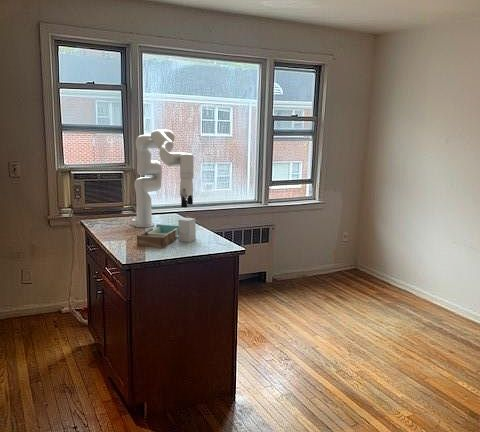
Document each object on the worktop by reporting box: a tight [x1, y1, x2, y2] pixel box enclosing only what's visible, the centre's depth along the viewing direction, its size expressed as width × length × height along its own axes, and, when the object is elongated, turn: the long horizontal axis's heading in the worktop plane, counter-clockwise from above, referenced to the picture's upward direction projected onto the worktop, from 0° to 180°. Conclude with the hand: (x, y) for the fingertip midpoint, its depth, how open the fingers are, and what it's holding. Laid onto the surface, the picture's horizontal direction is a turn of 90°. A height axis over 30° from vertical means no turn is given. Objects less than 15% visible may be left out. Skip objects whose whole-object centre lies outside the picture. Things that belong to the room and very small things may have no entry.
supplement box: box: [177, 217, 197, 243], centre depth 266 cm, size 7×7×13 cm
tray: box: [147, 223, 179, 237], centre depth 268 cm, size 19×16×5 cm
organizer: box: [136, 227, 177, 249], centre depth 259 cm, size 19×15×6 cm
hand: (187, 205), depth 263 cm, fingers open, 9 cm apart
